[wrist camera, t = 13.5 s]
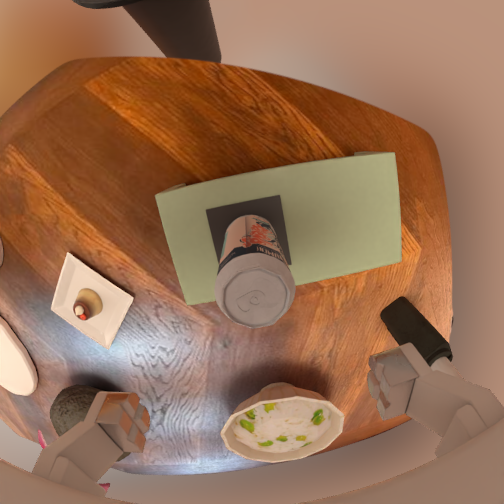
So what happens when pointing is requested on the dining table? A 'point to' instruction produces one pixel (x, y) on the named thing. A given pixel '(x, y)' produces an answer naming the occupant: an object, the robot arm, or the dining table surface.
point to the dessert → (90, 301)
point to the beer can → (253, 274)
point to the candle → (419, 335)
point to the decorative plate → (15, 363)
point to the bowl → (282, 424)
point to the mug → (1, 253)
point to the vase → (73, 412)
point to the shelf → (289, 218)
